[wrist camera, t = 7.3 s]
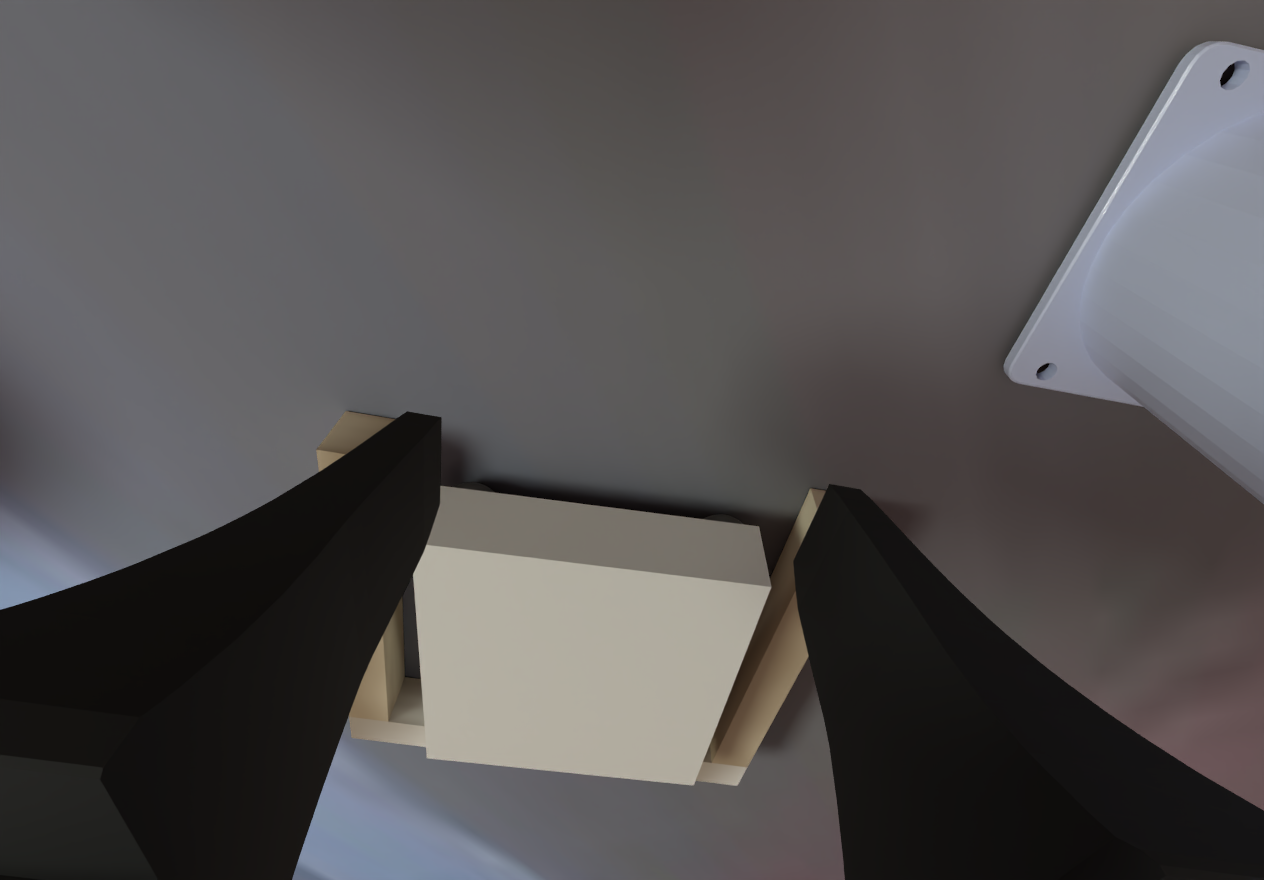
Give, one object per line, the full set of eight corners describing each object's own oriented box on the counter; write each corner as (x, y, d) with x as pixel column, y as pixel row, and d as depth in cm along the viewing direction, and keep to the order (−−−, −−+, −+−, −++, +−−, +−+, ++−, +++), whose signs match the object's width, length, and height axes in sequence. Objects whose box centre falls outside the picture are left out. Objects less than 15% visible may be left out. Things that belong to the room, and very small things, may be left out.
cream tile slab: (754, 505, 21) (771, 587, 18) (689, 701, 27) (693, 785, 24) (445, 465, 20) (411, 543, 17) (451, 675, 26) (427, 758, 23)
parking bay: (855, 495, 20) (873, 539, 19) (732, 740, 28) (737, 785, 27) (345, 411, 19) (316, 449, 17) (370, 693, 27) (351, 737, 25)
